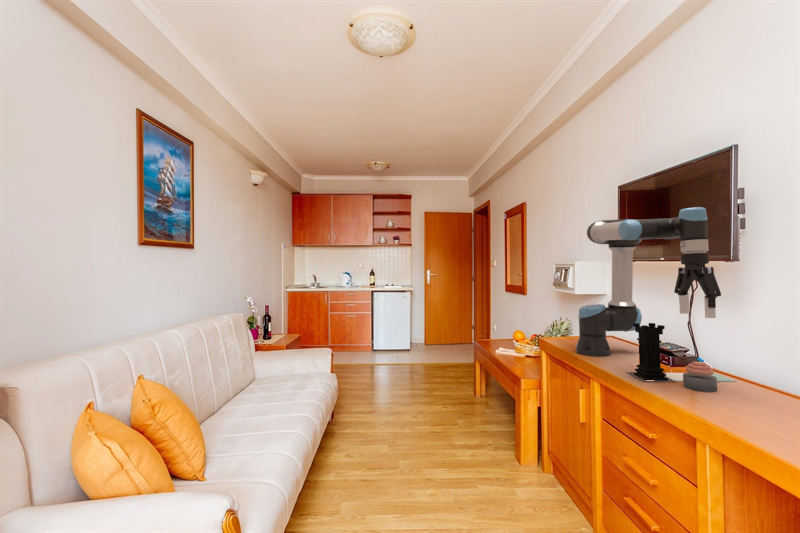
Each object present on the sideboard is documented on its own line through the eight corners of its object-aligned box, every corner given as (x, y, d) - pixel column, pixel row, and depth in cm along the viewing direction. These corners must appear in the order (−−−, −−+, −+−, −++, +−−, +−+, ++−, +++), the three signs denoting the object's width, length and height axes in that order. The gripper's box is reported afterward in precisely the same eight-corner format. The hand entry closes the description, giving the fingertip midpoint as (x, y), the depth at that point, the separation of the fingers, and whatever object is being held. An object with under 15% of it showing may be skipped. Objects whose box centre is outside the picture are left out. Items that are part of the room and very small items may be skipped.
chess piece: (655, 374, 141) (653, 322, 142) (668, 380, 133) (666, 326, 134) (633, 374, 142) (631, 323, 142) (645, 380, 134) (643, 326, 134)
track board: (626, 373, 144) (626, 371, 144) (714, 373, 141) (713, 372, 141) (642, 381, 133) (642, 380, 133) (738, 382, 129) (738, 381, 129)
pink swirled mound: (681, 369, 129) (680, 360, 129) (703, 369, 128) (702, 360, 128) (695, 375, 122) (694, 365, 122) (718, 375, 121) (718, 365, 121)
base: (677, 383, 130) (676, 372, 130) (704, 383, 129) (704, 372, 129) (694, 392, 121) (694, 380, 121) (724, 392, 120) (723, 380, 120)
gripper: (661, 254, 138) (663, 311, 138) (707, 251, 114) (710, 320, 114) (682, 254, 137) (685, 311, 137) (734, 250, 113) (737, 320, 113)
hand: (696, 315), depth 125 cm, fingers open, 12 cm apart
